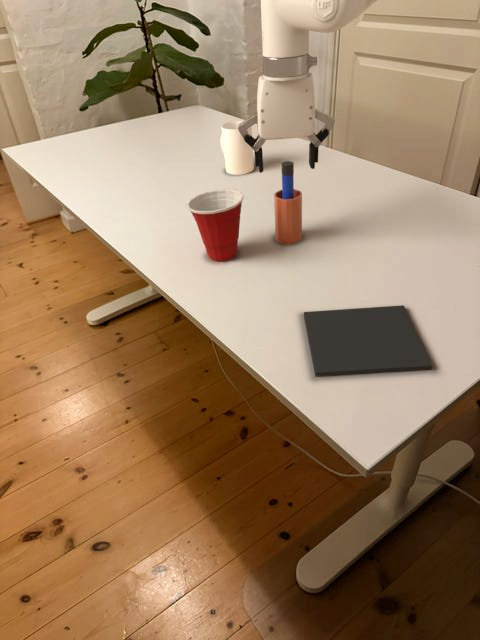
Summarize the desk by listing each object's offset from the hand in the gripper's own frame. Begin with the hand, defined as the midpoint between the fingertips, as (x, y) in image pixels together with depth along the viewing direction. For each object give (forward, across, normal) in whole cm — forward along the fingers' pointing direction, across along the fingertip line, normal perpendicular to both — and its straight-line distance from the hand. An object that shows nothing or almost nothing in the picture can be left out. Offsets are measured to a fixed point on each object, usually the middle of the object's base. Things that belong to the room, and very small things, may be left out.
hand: (286, 168), depth 88 cm
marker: (+14, 0, 0) cm, 14 cm away
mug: (+15, +11, -44) cm, 48 cm away
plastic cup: (+15, +14, +5) cm, 21 cm away
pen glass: (+15, 0, 0) cm, 15 cm away
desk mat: (+14, -8, +34) cm, 38 cm away
